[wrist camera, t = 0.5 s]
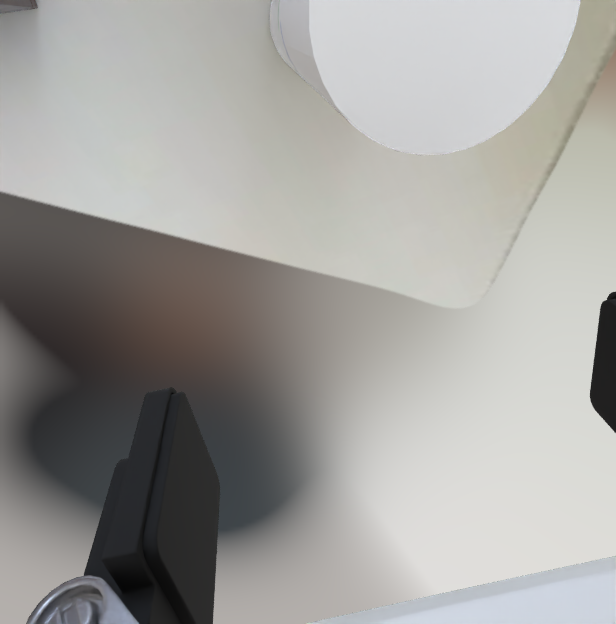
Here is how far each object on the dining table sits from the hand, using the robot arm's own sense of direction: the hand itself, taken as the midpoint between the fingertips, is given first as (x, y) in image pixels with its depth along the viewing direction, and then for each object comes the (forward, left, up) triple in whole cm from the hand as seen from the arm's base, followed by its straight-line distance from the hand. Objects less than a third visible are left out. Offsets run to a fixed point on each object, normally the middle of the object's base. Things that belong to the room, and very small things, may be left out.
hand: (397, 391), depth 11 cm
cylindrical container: (-7, +3, -31) cm, 32 cm away
